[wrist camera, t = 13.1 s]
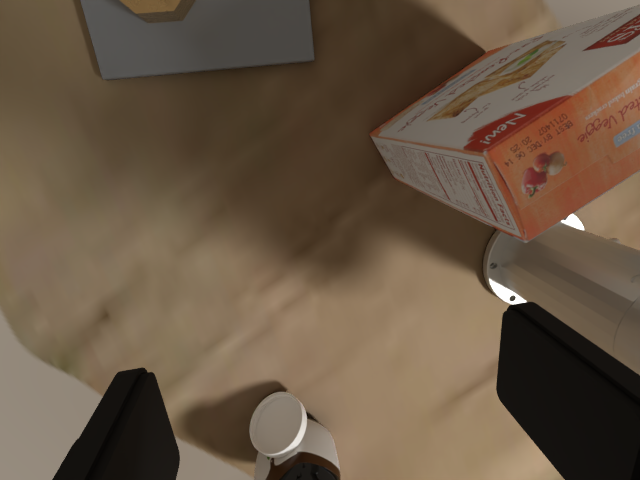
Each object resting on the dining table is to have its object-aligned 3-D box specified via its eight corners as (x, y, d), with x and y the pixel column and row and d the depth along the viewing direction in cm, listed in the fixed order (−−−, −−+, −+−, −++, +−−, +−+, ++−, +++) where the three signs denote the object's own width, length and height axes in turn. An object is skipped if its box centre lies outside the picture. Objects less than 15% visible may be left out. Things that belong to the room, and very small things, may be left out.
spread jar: (293, 471, 49) (301, 573, 38) (222, 441, 45) (208, 543, 35) (348, 411, 47) (373, 501, 36) (277, 374, 43) (281, 461, 32)
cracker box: (485, 46, 34) (775, -45, 15) (508, 103, 36) (788, 87, 17) (363, 130, 35) (485, 148, 16) (392, 180, 37) (531, 251, 18)
